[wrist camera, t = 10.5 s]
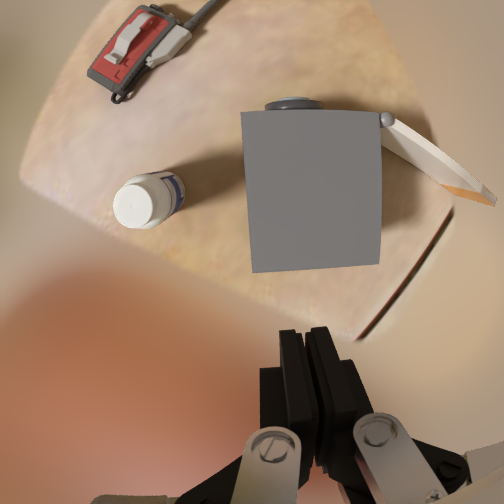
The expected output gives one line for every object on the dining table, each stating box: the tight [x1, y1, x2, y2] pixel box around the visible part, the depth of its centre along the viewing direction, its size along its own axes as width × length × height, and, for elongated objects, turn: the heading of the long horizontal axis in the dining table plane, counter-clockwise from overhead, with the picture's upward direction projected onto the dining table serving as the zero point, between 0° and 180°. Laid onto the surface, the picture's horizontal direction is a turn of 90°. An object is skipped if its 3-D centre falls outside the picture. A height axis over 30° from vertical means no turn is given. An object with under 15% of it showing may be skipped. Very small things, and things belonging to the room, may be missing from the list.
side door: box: [379, 112, 497, 206], centre depth 27 cm, size 18×1×9 cm, turn 68°
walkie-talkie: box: [87, 0, 220, 104], centre depth 25 cm, size 9×4×20 cm
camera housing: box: [241, 97, 382, 273], centre depth 28 cm, size 16×12×9 cm
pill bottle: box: [113, 171, 185, 229], centre depth 28 cm, size 5×5×10 cm
